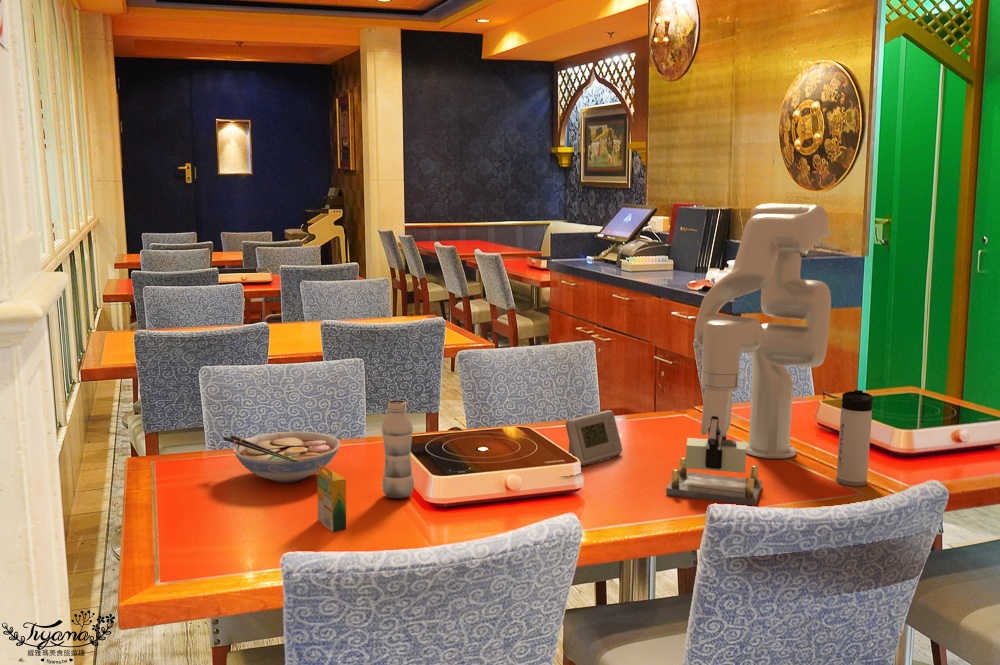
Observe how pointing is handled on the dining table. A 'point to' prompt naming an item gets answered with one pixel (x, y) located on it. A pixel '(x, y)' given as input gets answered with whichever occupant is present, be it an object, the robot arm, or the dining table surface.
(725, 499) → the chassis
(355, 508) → the dining table surface
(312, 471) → the ramen bowl
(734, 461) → the cream rectangular block
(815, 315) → the robot arm
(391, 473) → the plastic bottle
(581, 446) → the digital clock
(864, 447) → the travel mug
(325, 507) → the crayon box
